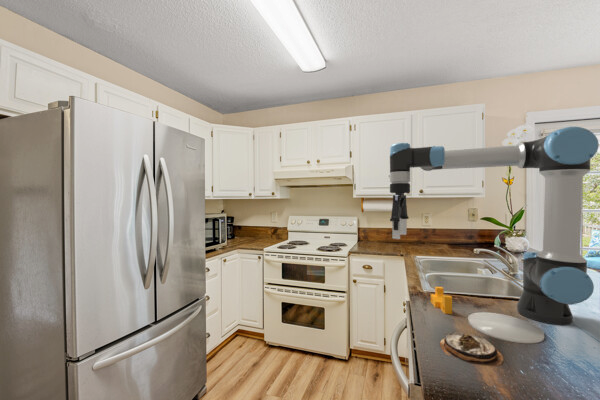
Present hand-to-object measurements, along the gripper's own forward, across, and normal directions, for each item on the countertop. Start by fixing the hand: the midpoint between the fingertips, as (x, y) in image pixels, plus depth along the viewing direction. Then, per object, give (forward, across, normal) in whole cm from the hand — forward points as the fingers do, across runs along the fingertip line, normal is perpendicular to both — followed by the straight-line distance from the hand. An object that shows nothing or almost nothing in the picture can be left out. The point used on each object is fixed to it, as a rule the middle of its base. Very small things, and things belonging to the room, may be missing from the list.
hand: (399, 236), depth 109 cm
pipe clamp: (+28, -8, +14) cm, 32 cm away
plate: (+28, +2, +33) cm, 43 cm away
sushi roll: (+31, +21, +28) cm, 47 cm away
